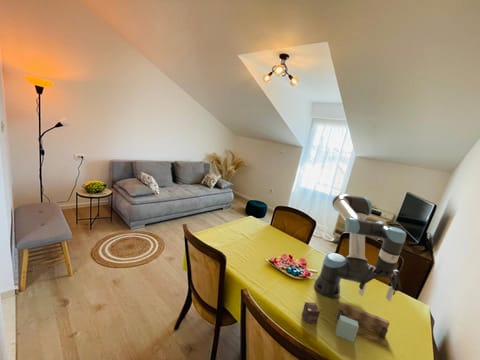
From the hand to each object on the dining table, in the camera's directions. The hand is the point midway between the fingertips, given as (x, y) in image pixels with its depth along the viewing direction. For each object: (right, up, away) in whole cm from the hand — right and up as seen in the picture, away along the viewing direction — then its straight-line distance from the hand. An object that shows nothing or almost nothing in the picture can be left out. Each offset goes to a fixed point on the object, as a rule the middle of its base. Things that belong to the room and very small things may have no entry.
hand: (374, 296), depth 113 cm
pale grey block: (-16, -18, -2) cm, 24 cm away
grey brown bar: (-5, -18, +4) cm, 19 cm away
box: (-31, -14, +5) cm, 34 cm away
